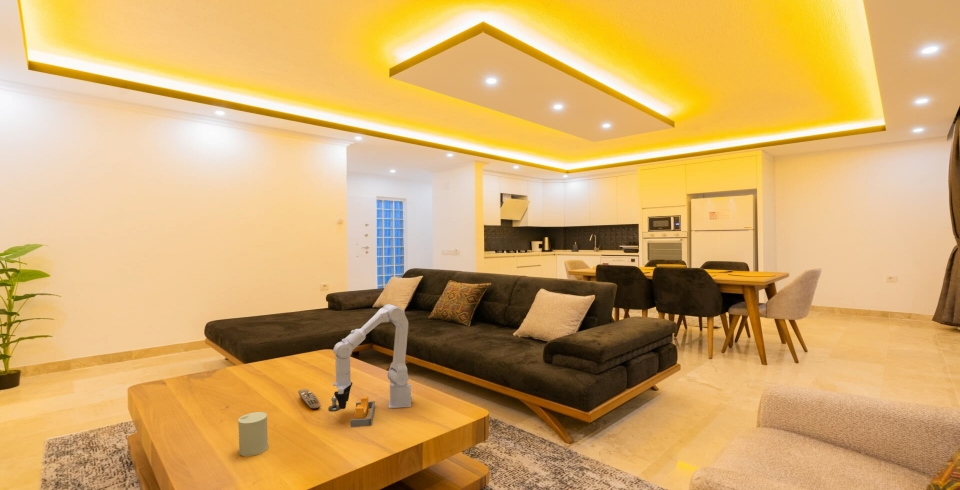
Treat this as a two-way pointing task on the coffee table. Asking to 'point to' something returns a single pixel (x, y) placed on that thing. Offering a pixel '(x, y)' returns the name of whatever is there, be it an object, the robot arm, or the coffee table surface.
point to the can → (253, 434)
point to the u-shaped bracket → (367, 420)
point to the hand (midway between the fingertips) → (344, 404)
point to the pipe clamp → (362, 409)
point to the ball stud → (334, 405)
